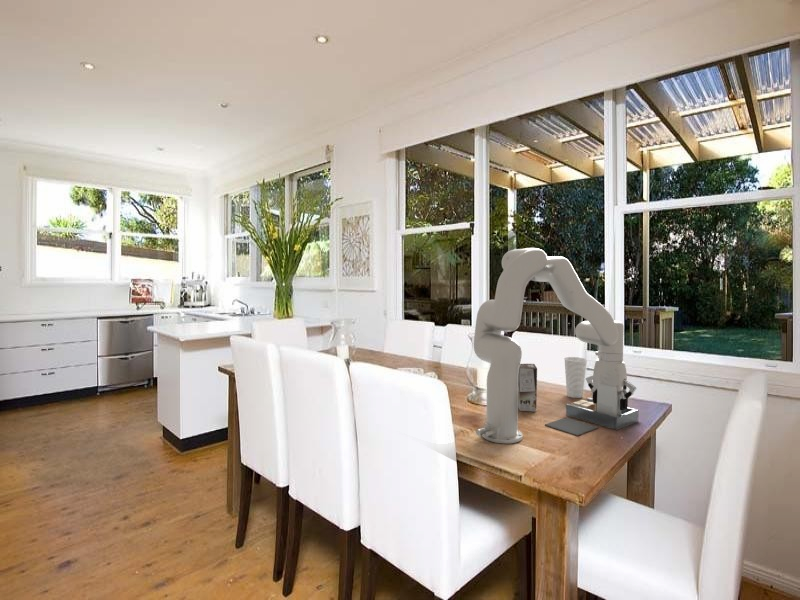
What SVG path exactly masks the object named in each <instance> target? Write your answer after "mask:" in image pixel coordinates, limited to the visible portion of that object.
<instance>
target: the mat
mask: <svg viewBox="0 0 800 600" xmlns="http://www.w3.org/2000/svg"><path fill="white" fill-rule="evenodd" d="M544 426H545V427H548V428H551V429H554V430H557V431H559V432H563V433H566V434H569V435H572V436H576V437H579V436H582V435H584V434H587V433H589V432H592V431H594V430H597V429H599V428H600V427H599V426H598V425H597V426H596V425H595V424H589V423H587V422H585V421H584V422H583V421H581V420H576V419H573V418H571V417H568V416H566V417H563V418H559V419H557V420H554V421H550V422H548V423H546V424H544Z"/></svg>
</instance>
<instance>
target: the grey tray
mask: <svg viewBox="0 0 800 600" xmlns="http://www.w3.org/2000/svg"><path fill="white" fill-rule="evenodd" d="M586 401H588V402H593V397H586ZM639 412H640V411H639V409H636V408H632V407H629V406H628V407H627V409H626V410H623V411H622V414H621V415H619V416H616V417H615V416H612V415H608V414H604V413H601V412H597V403H596V411H593V410H589V409H586V408H582V407H578V406H574V405H573V404H570V403H566V405H565V415H566V417H569V418H575V419H578V420H580V421H584V422H586V423H587V422H588V423H591V424H593V425H597V426H598V425H599V426H602V427H606V428H609V429H612V430H614V431H617V430H620V429H623V428H625V427H628V426H631V425H633V424H635V423H637V422H639V414H640V413H639Z"/></svg>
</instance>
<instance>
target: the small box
mask: <svg viewBox="0 0 800 600" xmlns="http://www.w3.org/2000/svg"><path fill="white" fill-rule="evenodd" d="M621 398H622V397H621V396H620V394H619V393H617V387H614V386H609V385H605V384H598V385H597V412H601V413H604V414H608V415H612V416H615V417H616V416H619V415H621V414H622V411H621V410H620V399H621Z"/></svg>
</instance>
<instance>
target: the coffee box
mask: <svg viewBox="0 0 800 600" xmlns="http://www.w3.org/2000/svg"><path fill="white" fill-rule="evenodd" d="M537 385H538V368H537V366H536V364H535V363H520V367H519V374H518V412H519V411H522V412H535V413H536V412H537V401H538V400H537V396H538V395H537V392H538V391H537V389H538V386H537Z"/></svg>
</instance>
